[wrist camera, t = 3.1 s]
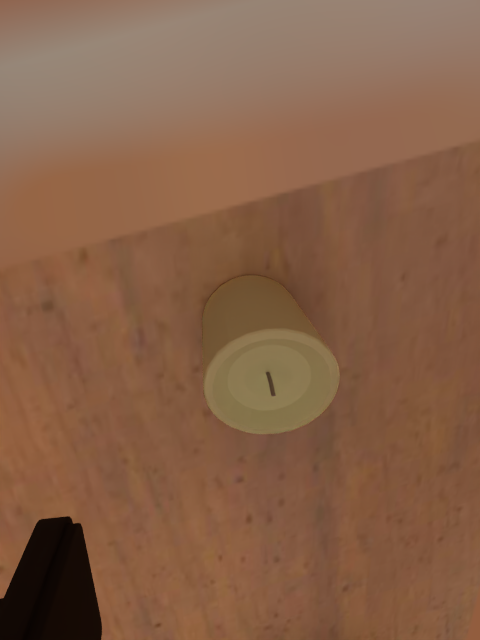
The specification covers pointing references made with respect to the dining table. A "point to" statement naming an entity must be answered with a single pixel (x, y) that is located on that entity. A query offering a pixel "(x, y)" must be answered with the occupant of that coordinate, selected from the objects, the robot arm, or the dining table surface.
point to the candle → (264, 358)
